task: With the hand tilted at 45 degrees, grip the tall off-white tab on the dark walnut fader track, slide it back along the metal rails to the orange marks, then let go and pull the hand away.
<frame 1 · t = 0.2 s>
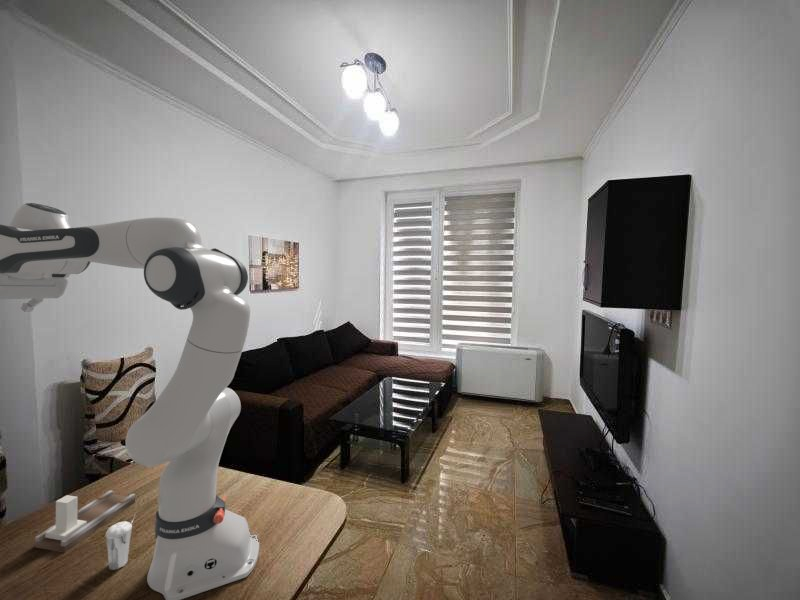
hand: (2, 311, 84), 54 cm above the table, tool tilted 30°, fingers open, 8 cm apart
fader tab: (66, 515, 81), point 6 cm above the table, slide at 5.5 cm
milkshake: (120, 563, 76), on the table
fader track: (89, 522, 87), on the table
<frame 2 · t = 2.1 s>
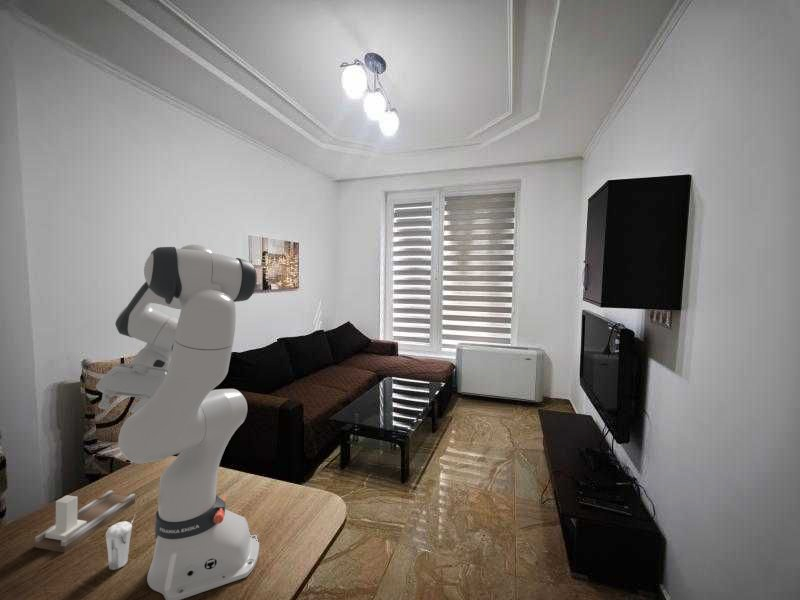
hand: (117, 409, 92), 27 cm above the table, tool tilted 45°, fingers open, 8 cm apart
nothing on the table moved.
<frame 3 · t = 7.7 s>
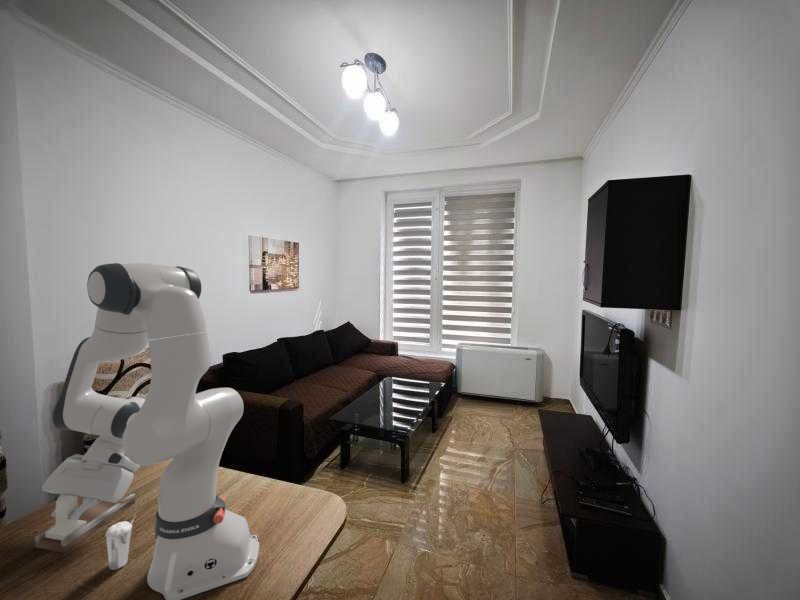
hand: (63, 518, 81), 6 cm above the table, tool tilted 45°, fingers closed on fader tab, 3 cm apart
fader tab: (66, 515, 81), point 6 cm above the table, slide at 5.5 cm, touching gripper
everything else where it was.
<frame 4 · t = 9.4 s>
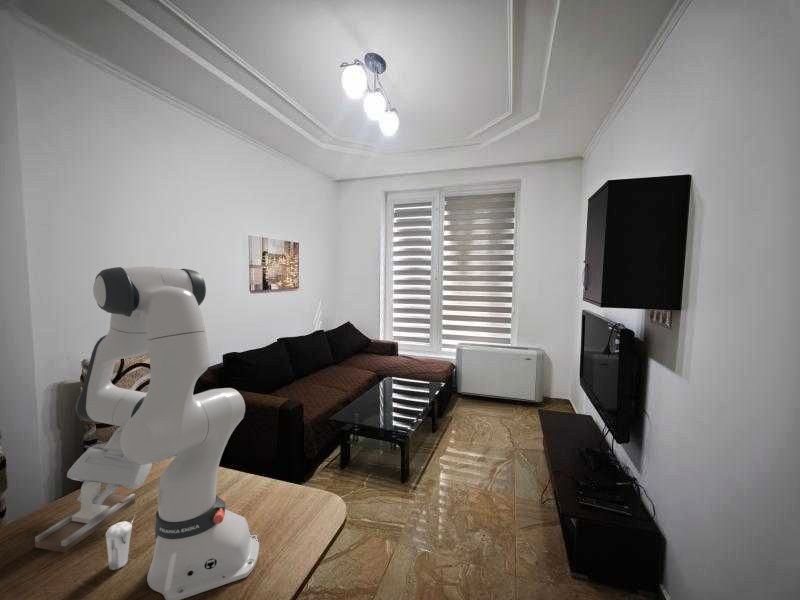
hand: (88, 503, 86), 6 cm above the table, tool tilted 45°, fingers closed on fader tab, 3 cm apart
fader tab: (91, 500, 87), point 6 cm above the table, slide at -0.2 cm, touching gripper
everything else where it was.
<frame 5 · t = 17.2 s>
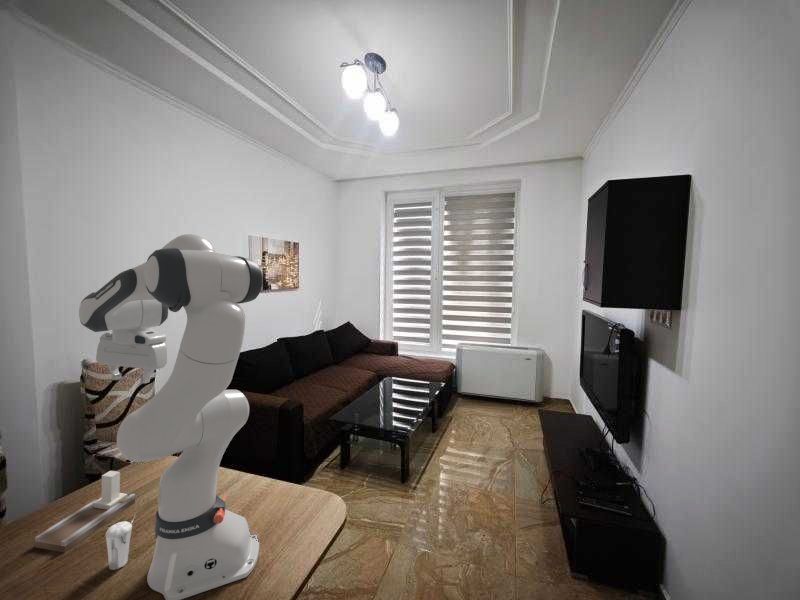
hand: (130, 381, 99), 33 cm above the table, tool pointing down, fingers open, 8 cm apart
fader tab: (110, 488, 92), point 6 cm above the table, slide at -5.5 cm
everything else where it was.
at the end: fader tab slide at -5.5 cm; the gripper is holding nothing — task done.
